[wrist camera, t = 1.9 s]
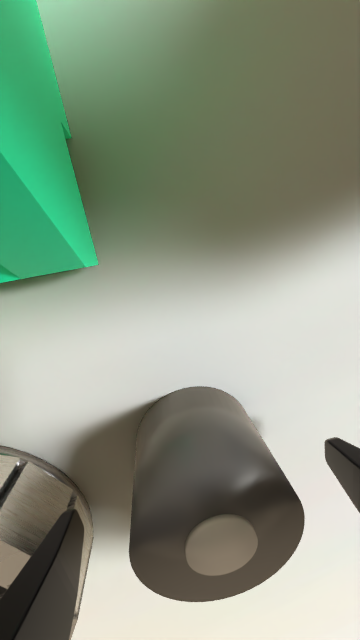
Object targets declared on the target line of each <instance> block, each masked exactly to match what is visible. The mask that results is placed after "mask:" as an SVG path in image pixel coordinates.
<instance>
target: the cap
mask: <svg viewBox="0 0 360 640" xmlns="http://www.w3.org/2000/svg"><path fill="white" fill-rule="evenodd" d="M303 529H304V510H303V507H302V504H301V501H300V499H299V498H298V496H297V494H296V493H295V491H294V489H293V488H292V486H291V484H290V483H289V481H288V480H287V478H286V476H285V475H284V473H283V471H282V470H281V468H280V467H279V465H278V463H277V462H276V460H275V459H274V457H273V455H272V454H271V452H270V450H269V449H268V447H267V446H266V444H265V442H264V441H263V439H262V437H261V436H260V434H259V433H258V431H257V429H256V428H255V426H254V424H253V423H252V421H251V420H250V418H249V416H248V415H247V413H246V412H245V410H244V408H243V407H242V405H241V404H240V403H239V402H238V401H237V400H236V399H235V398H234V397H233V396H231V395H229V394H228V393H226V392H224V391H222V390H219V389H215V388H211V387H200V386H199V387H189V388H183V389H180V390H177V391H174V392H172V393H170V394H168V395H166V396H164V397H163V398H161V399H160V400H158V401H157V402H156V403H155V404H154V405H153V406H152V407H151V408H150V409H149V410H148V411H147V412H146V414H145V415H144V417H143V419H142V420H141V423H140V425H139V428H138V432H137V439H136V453H135V468H134V484H133V499H132V514H131V529H130V544H129V556H130V562H131V566H132V568H133V570H134V572H135V574H136V576H137V577H138V578H139V580H140V581H141V582H142V583H143V584H144V585H145V586H146V587H147V588H149V589H150V590H152V591H153V592H155V593H157V594H159V595H161V596H164V597H167V598H170V599H174V600H179V601H187V602H206V601H214V600H220V599H224V598H228V597H232V596H235V595H237V594H240V593H243V592H245V591H247V590H250V589H252V588H254V587H255V586H257V585H259V584H261V583H262V582H264V581H265V580H267V579H268V578H270V577H271V576H272V575H274V574H275V573H276V572H277V571H278V570H279V569H280V568H281V567H282V566H283V565H284V564H285V563H286V562H287V561H288V560H289V559H290V557H291V556H292V554H293V553H294V551H295V550H296V548H297V546H298V544H299V542H300V540H301V537H302V534H303Z"/></svg>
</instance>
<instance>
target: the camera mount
mask: <svg viewBox="0 0 360 640" xmlns="http://www.w3.org/2000/svg"><path fill="white" fill-rule="evenodd" d="M69 138H72V137H71V134H70V130H69V126H68V122H67V118H66V114H65V110H64V107H63V103H62V99H61V95H60V91H59V87H58V83H57V79H56V76H55V72H54V68H53V64H52V60H51V56H50V52H49V49H48V45H47V41H46V37H45V33H44V29H43V25H42V21H41V18H40V14H39V10H38V6H37V2H36V0H0V283H3V282H8V281H14V280H19V279H24V278H30V277H35V276H41V275H46V274H52V273H57V272H63V271H68V270H74V269H79V268H85V267H90V266H95V265H99V264H98V260H97V256H96V253H95V249H94V245H93V241H92V237H91V234H90V230H89V226H88V222H87V219H86V215H85V211H84V207H83V204H82V200H81V196H80V192H79V188H78V185H77V181H76V177H75V173H74V170H73V166H72V162H71V158H70V155H69V151H68V147H67V143H66V139H69Z"/></svg>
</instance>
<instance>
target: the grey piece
mask: <svg viewBox="0 0 360 640" xmlns="http://www.w3.org/2000/svg"><path fill="white" fill-rule="evenodd" d="M71 509H76V510H77V511H78V513H79V515H80V518H81V520H82V522H83V525H84V541H83V550H82V560H81V569H80V578H79V587H78V595H77V601H76V607H75V612H74V617H73V622H72V628H71V633H70V638H69V640H71V637H72V634H73V631H74V628H75V625H76V622H77V620H78V615H79V610H80V604H81V599H82V594H83V589H84V584H85V579H86V574H87V569H88V563H89V558H90V553H91V548H92V543H93V538H94V537H92V536H93V530H92V528H93V524H92V516H91V512H90V509H89V506H88V504H87V502H86V500H85V498H84V496H83V494H82V493H81V491H80V490H79V489H78V487H77V486H76V485H75V484H74V483H73V482H72V481H71V480H70V479H69V478H68V477H67V476H66V475H65V474H63V473H62V472H61V471H60V470H58V469H57V468H56V467H54V466H52V465H51V464H49V463H47V462H45V461H44V460H42V459H39V458H37V457H35V456H33V455H30V454H28V453H25V452H22V451H19V450H16V449H12V448H8V447H3V446H0V599H1V597H2V596H3V595H4V593H5V592H6V590H7V589H8V588H9V586H10V585H11V583H12V582H13V581H14V579H15V578H16V577H17V575H18V574H19V572H20V571H21V570H22V568H23V567H24V565H25V564H26V563H27V561H28V560H29V558H30V557H31V556H32V554H33V553H34V551H35V550H36V549H37V547H38V546H39V545H40V543H41V542H42V540H43V539H44V538H45V536H46V535H47V533H48V532H49V531H50V529H51V528H52V526H53V525H54V524H55V522H56V521H57V519H58V518H59V517H60V515H61V514H62V513H63V512H65V511H68V510H71Z"/></svg>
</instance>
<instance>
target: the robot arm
mask: <svg viewBox="0 0 360 640" xmlns="http://www.w3.org/2000/svg"><path fill="white" fill-rule="evenodd" d="M325 459H326V462H327V464H328V465H329V467H330V468H331V470H332V472H333V473H334V475H335V476H336V478H337V479H338V481H339V482H340V484H341V485H342V487H343V489H344V490H345V492H346V493H347V495H348V496H349V498H350V499H351V501H352V502H353V504H354V505H355V507H356V508H357V510H358V511H359V513H360V448H358V447H356V446H354V445H352V444H350V443H348V442H346V441H343V440H341V439H339V438H336V437H334V438H330V439H327V440H326V441H325ZM83 541H84V525H83V522H82V520H81V518H80V515H79V513H78V511H77V510H76V509H71V510H68V511H65V512H63V513H62V514H61V515H60V517H59V518H58V519H57V521H56V522H55V524H54V525H53V526H52V528H51V529H50V531H49V532H48V533H47V535H46V536H45V538H44V539H43V540H42V542H41V543H40V545H39V546H38V547H37V549H36V550H35V551H34V553H33V554H32V556H31V557H30V558H29V560H28V561H27V563H26V564H25V565H24V567H23V568H22V570H21V571H20V572H19V574H18V575H17V577H16V578H15V579H14V581H13V582H12V583H11V585H10V586H9V588H8V589H7V590H6V592H5V593H4V595H3V596H2V597H1V599H0V640H69V638H70V633H71V628H72V622H73V617H74V612H75V607H76V601H77V595H78V587H79V578H80V569H81V560H82V550H83Z"/></svg>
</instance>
